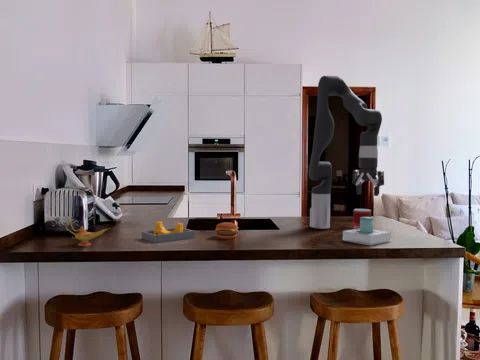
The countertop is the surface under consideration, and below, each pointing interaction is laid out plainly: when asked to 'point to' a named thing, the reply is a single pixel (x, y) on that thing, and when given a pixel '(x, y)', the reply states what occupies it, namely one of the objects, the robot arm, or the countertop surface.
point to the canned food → (357, 214)
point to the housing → (366, 237)
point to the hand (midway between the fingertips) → (367, 195)
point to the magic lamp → (85, 234)
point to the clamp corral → (168, 235)
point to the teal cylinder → (366, 224)
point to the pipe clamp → (162, 230)
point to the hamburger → (226, 230)
